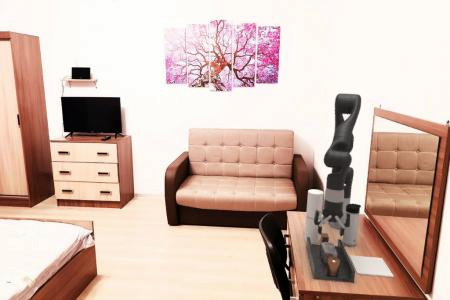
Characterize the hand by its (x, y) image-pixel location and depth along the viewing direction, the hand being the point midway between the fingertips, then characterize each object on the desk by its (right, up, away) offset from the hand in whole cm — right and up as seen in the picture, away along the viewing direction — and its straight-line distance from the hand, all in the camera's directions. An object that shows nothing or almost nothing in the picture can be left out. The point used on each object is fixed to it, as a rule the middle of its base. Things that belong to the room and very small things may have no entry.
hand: (330, 234), depth 138 cm
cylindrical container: (-2, -9, +23) cm, 25 cm away
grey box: (0, -10, +2) cm, 10 cm away
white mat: (+17, -14, +1) cm, 22 cm away
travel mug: (+16, -10, +20) cm, 27 cm away
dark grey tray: (0, -13, +3) cm, 13 cm away
